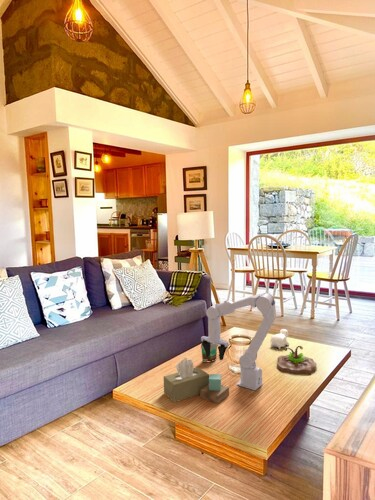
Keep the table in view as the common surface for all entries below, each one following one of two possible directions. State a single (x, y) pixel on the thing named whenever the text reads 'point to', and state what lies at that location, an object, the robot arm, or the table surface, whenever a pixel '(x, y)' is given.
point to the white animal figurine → (280, 339)
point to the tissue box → (185, 381)
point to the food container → (212, 352)
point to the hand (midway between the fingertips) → (214, 357)
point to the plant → (296, 363)
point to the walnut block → (214, 394)
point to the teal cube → (215, 382)
